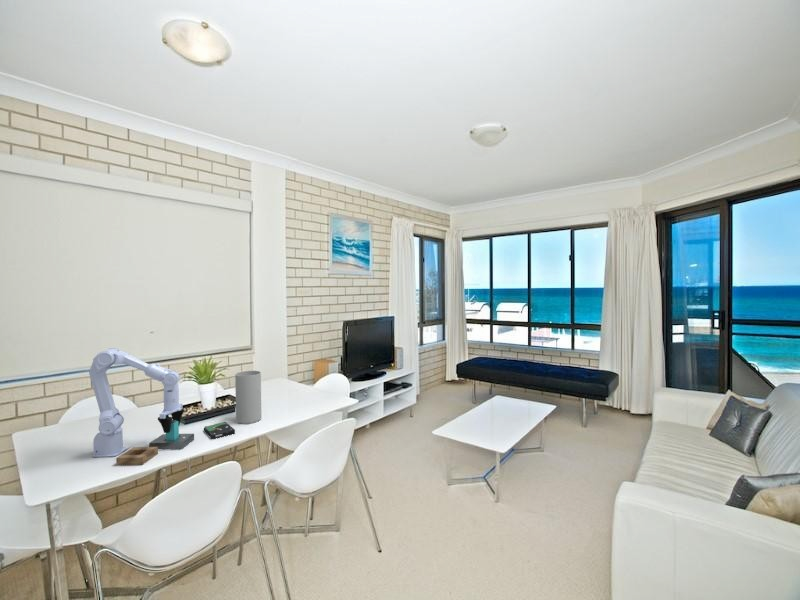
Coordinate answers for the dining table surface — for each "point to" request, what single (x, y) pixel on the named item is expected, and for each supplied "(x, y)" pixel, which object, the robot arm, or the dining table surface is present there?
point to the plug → (173, 431)
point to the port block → (172, 442)
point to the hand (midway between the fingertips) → (171, 429)
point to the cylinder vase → (248, 396)
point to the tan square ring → (137, 456)
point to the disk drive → (219, 430)
